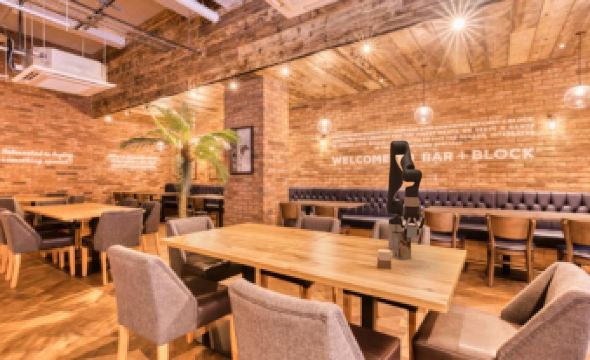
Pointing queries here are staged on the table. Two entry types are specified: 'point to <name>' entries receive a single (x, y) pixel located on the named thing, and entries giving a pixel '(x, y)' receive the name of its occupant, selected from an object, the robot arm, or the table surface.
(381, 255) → the tower top
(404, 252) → the coffee box
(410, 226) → the slate block
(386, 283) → the table surface
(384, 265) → the tower base
